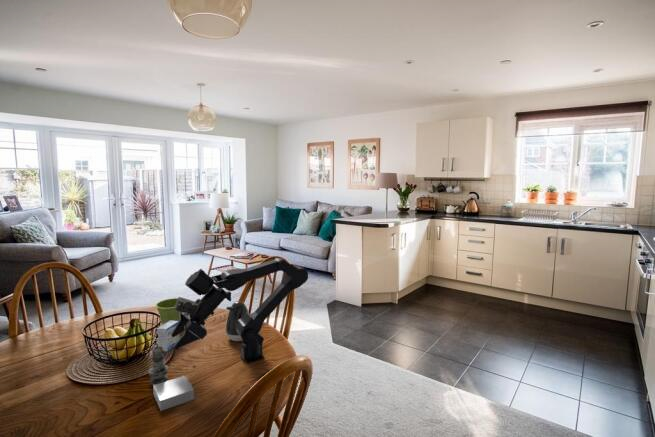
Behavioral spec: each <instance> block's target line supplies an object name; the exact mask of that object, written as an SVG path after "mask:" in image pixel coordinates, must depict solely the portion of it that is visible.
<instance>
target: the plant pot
mask: <svg viewBox="0 0 655 437" xmlns="http://www.w3.org/2000/svg"><path fill="white" fill-rule="evenodd" d="M177 299H178V297H174V298H173V297H172V298H167V299H163V300H160V301H158V302H157V303H155V308H157V312H158V314H159V319H160V322H161V326H162V325H163V324H165V323H166V322H168V321H179V320H180V313H179V311H177V310H175V307H174V306H175V304H176V301H177ZM180 312H181V311H180Z"/></svg>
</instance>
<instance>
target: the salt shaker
mask: <svg viewBox="0 0 655 437" xmlns="http://www.w3.org/2000/svg"><path fill="white" fill-rule="evenodd" d="M163 352H164V351H163V349H162V347H161V346H158V344H157V343H156V345H155V346H154V347H153V348H152V358H151V361H152V366H151V367H150V368H149V369H148V370H147V373H148V374H149V377H150V378H151V379H150V380H149V384H150V385H156V384H160V383H163V382H166V381H169V376H167V374H168V370H169V366H168V365H167V364H164V359H165V355H163V354H164V353H163Z"/></svg>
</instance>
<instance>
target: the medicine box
mask: <svg viewBox="0 0 655 437" xmlns="http://www.w3.org/2000/svg"><path fill="white" fill-rule="evenodd" d="M178 322H179V321H168V322H166V323H165V324H163V325H162V324H161V325H160V326H158V327H159V328H158V327H156V329H157V334H158V338H156V345H157V344H158V346H161V347H162V349H163V352H167V351H168V352H170V350H172V349H173V348H174V346H175V345H176V343H177V342H178V340H179V339H180V338H181V336H180V334H181V333H180V334H178V335H177V336H175V337H172V336H171V335H172V333H173V331H174V329H175V327H176V325H177V324H178ZM171 348H172V349H171Z"/></svg>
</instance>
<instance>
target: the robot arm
mask: <svg viewBox="0 0 655 437" xmlns="http://www.w3.org/2000/svg"><path fill="white" fill-rule="evenodd" d="M280 271H281V272H283V273H284V275H283V277H282V280H281V282H280V283H279V285H278V286H276V288H275V289H274V290H273V291H272V292H271V294H269V295H268V296H267V297H266V299H264V301H263V302H262V303H261V304H260V305H259V306H258V307H257V309H256V310H254V311H253V312H251V313H249V314H248V313H247V312H246V313H245V314H244V315H243V317H242V318H241V319H239V320H238V321H239V322H238V323H237V325H236V331H237V333H238V334H239V335H240V337H241V338H242V339H243V341H241V342H242V343H241V344H242V345H241V346H240V358H242V359H243V360H244V361H245V363H247V364H250V363H254V362H258V361H259V360H263V359H265V355H263V343H264V340H265V338H264V337H263V335H262V334H261V333H260V332H261V330H262V327H263V324H264V322H265V321H266V319H267V318H268V317H269V316H270V315H271V314H273V312H274V311H275V309H276V308H277V307H279V305H280V304H281V303H282V302H283V301H284V299H285V298H287V296H288V295H289V294H290V293H291V292H292V291H294V290H297V289H299V288H300V287H301V286H303V285H304V284H305V283H306V282H307V281H308V279H309V272H308V271H307V269H305V268H303V267H301V266H300V265H298V264H294V265H293V264H291V263H289V262H287V261H286V260H285V259H283V258H281V257H275V258H274V259H271V260H269V261H266V262H262V263H258V264H256V265H252V266H249V267H246V268H235V269H227V270H224V271H221V274H215V275H212V276H210V275H209V274H207V273H206V272H205V271H204V270H203V269H202V268H200V269H199V270H197V271H195V272H194V273H193V274H191V275H190V276H189V277H188V278H187V279H186V281H185V284H184V285H185V286H186V287H187V288H189V289H190V290H191V291H193V292H194V293H195V294H197V295H198V296H201V295H202V296H203V297H201V298H197V299H196V300H195V301H194V300H191V299H188V298H184V297H181V296H178V297H177V298H178V299H177V301H176V304H175V306H174V307H175V310H177V311H179V313H180V320H179V322H178V324H177V325H176V327H175V329H174V331H173V333H172V335H171V336H172V337H175V336H177V335H178V334H181V333H183V334H182V335H181V336H180V339H179V340H178V342H177V343H176V345H175V346H174V347H173V348H174V349H176V350H178V349H180V348H182V347H185V346H187V345H189V344H192V343H193V342H196V341H200V340H204V339H205V338H206V337H207V335H208V332H207V331H208V329H207V328H206V326H205V325H206V320H207V319H208V318H209V317H210V316H213V315H215V311H216V309H218V307H219V306H220V305H221V303H222V302H223V301H224V300H227V301H228V302H231V301H232V292H233V291H236V290H238V289H240V288H242V287H243V286H245V285H246V284H247V283H249V282H250V281H253V280H256V279H259V278H262V277H266V276H269V275H271V274H274V273H276V272H280ZM226 290H227V291H226ZM180 311H181V312H180Z"/></svg>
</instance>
